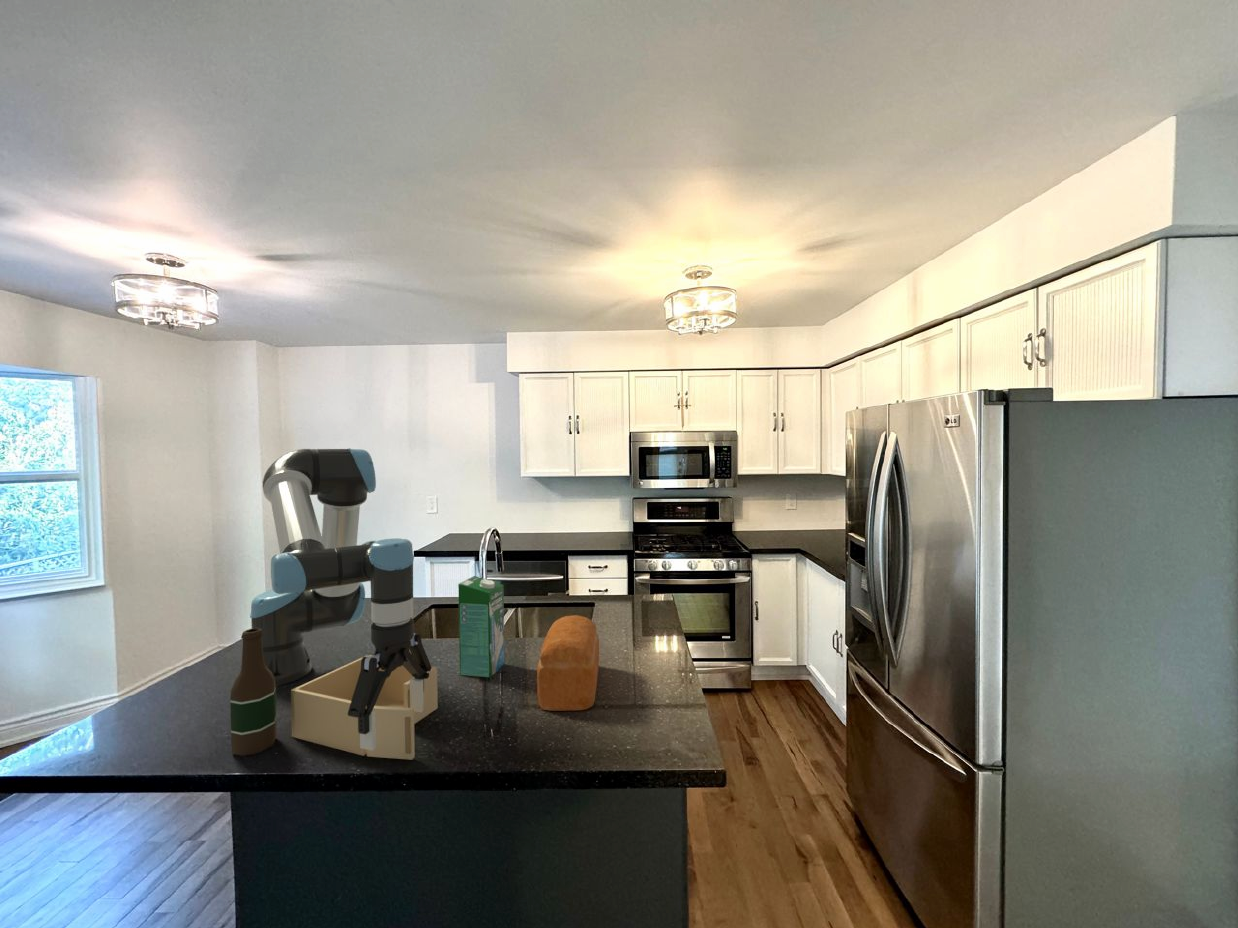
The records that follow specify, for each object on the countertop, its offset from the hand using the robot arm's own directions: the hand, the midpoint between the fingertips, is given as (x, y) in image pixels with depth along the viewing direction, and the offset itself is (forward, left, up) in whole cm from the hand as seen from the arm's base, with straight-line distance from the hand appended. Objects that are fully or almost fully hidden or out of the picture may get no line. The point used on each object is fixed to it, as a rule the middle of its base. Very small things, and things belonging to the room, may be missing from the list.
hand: (394, 728), depth 98 cm
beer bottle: (-31, -6, -7) cm, 32 cm away
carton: (-17, +9, -6) cm, 20 cm away
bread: (+18, +40, -7) cm, 45 cm away
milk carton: (-9, +41, -7) cm, 43 cm away
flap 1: (-1, 0, -6) cm, 6 cm away
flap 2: (-6, +14, -6) cm, 17 cm away
